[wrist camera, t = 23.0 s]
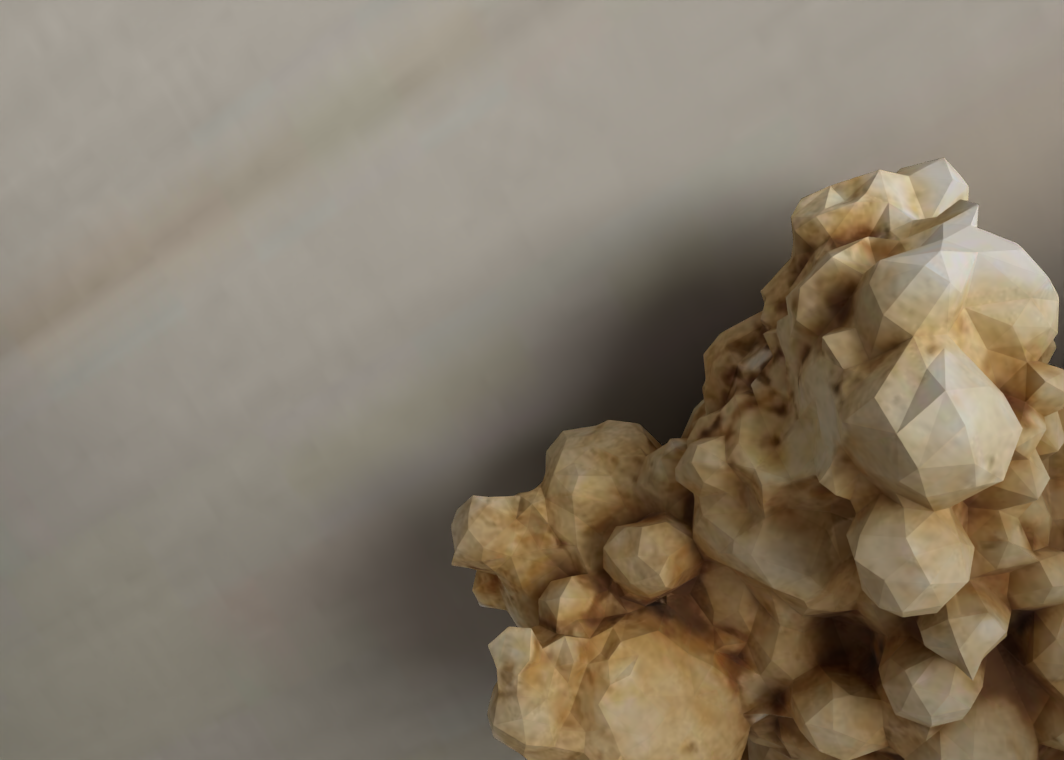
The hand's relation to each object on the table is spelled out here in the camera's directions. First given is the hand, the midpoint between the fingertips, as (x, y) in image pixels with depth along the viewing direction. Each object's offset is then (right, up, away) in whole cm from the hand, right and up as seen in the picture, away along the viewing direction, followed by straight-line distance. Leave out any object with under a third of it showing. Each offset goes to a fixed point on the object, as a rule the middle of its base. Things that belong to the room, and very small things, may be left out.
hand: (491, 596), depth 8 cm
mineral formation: (+8, -2, +15) cm, 16 cm away
